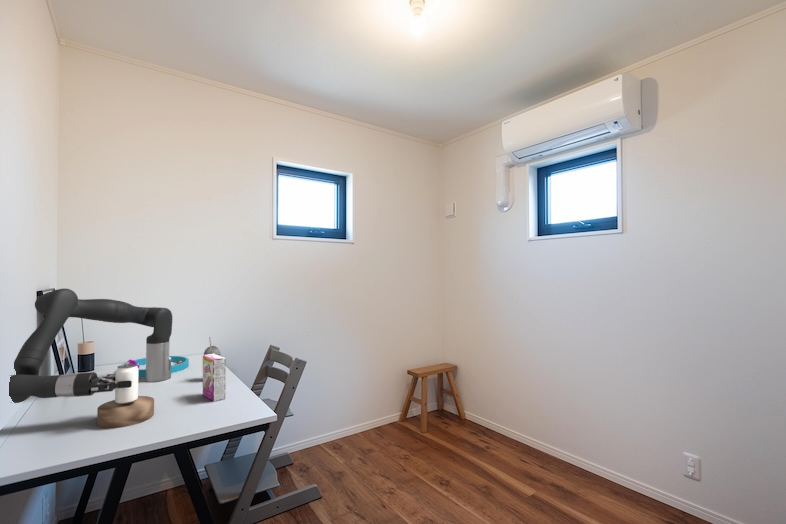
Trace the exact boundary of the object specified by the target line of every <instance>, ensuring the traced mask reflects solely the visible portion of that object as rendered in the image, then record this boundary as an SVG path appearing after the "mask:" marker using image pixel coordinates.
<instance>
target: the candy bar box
mask: <svg viewBox="0 0 786 524" xmlns="http://www.w3.org/2000/svg"><path fill="white" fill-rule="evenodd" d="M202 396H203V397H205V398H207V399H208V400H210V401H212V402H213V401H215V402H218V401H217V400H219V401H222V399H223V400H225V399H226V357H224V356H221V355H220V356H219V355H216V354H208V355H204V354H203V355H202Z"/></svg>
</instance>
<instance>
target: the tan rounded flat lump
mask: <svg viewBox="0 0 786 524" xmlns="http://www.w3.org/2000/svg"><path fill="white" fill-rule="evenodd" d="M96 410H97V411H96V412H97V414H96V415H97V417H96V420H97V421H96V422H97V423H96V424H97V427H99V428H103V429H115V428H116V429H117V428H124V427H130V426H133V425H137V424H141V423H143V422H146V421H148V420H150V419H151V418H153V417H154V415H155V398H154V397H151V396H145V395H138V398H137V400H136V401H134V402H130V403H125V404H118V403H116V402H115V399H112V400H109V401H106V402H103V404H100V405H99V406H98V407H97V409H96ZM152 416H153V417H152Z"/></svg>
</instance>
